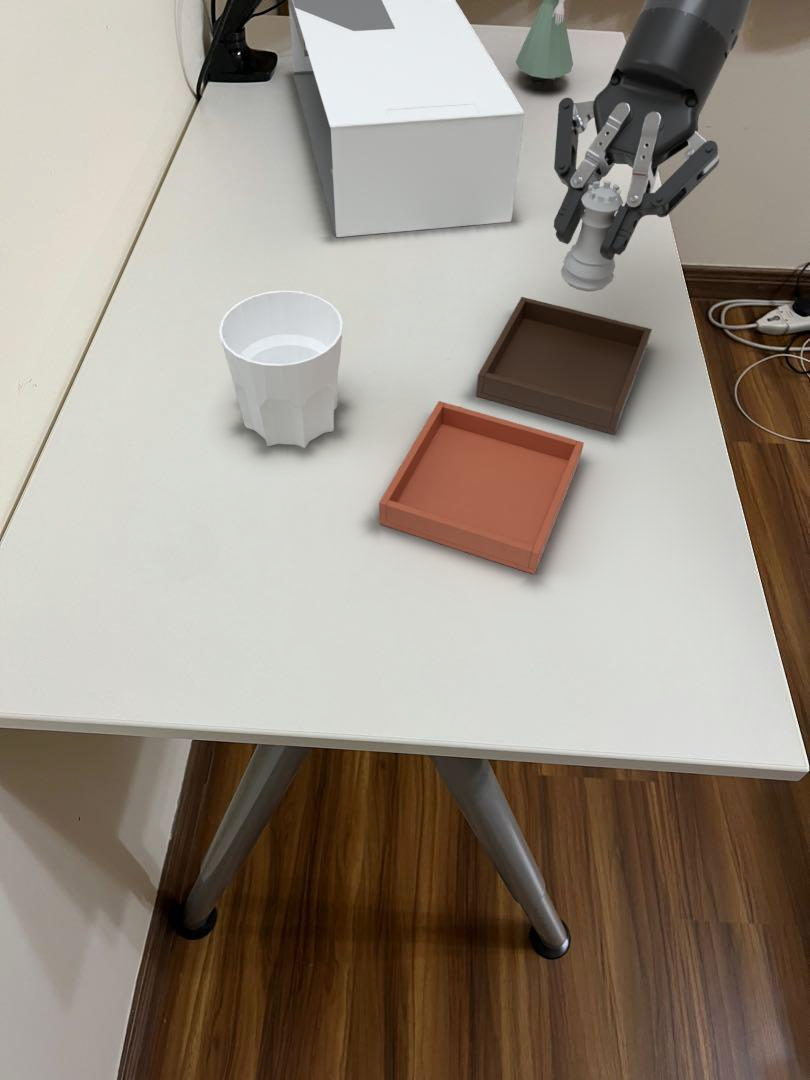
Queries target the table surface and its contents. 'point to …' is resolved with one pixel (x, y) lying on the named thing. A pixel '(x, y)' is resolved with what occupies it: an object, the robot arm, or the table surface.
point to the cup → (284, 364)
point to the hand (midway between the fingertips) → (584, 247)
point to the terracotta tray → (482, 486)
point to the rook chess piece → (593, 240)
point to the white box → (404, 115)
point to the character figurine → (547, 46)
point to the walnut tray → (564, 364)
